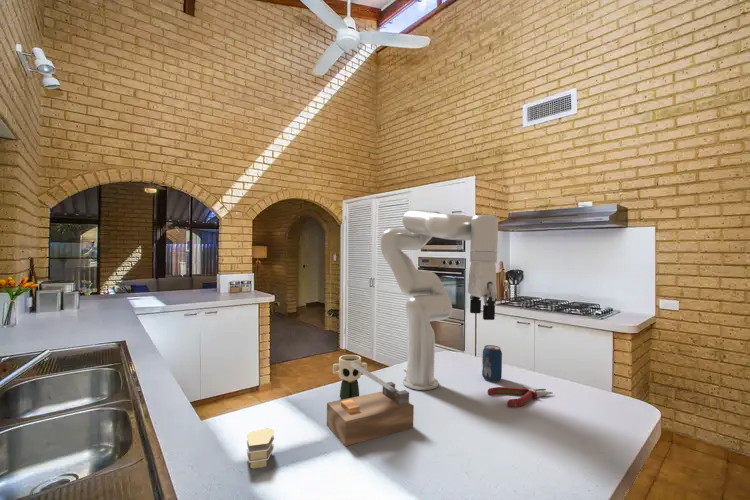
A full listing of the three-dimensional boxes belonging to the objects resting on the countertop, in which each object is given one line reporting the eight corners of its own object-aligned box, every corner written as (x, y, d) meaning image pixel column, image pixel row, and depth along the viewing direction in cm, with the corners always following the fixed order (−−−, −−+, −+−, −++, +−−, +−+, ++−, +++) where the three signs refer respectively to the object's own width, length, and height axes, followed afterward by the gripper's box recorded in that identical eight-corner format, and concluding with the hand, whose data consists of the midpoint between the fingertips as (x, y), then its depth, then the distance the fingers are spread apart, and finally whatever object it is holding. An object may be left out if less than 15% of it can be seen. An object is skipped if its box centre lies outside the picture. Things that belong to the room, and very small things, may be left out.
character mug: (332, 404, 111) (333, 361, 111) (331, 394, 118) (332, 355, 118) (368, 402, 113) (368, 360, 113) (364, 393, 120) (365, 354, 120)
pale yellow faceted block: (281, 470, 78) (282, 445, 78) (237, 477, 75) (237, 451, 75) (279, 446, 87) (280, 423, 87) (240, 451, 85) (240, 428, 85)
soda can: (500, 377, 138) (501, 345, 138) (502, 383, 132) (503, 350, 132) (481, 375, 140) (482, 344, 140) (482, 381, 133) (483, 348, 133)
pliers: (563, 401, 117) (563, 393, 117) (510, 410, 110) (510, 401, 110) (535, 388, 129) (535, 380, 129) (485, 395, 122) (485, 387, 122)
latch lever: (348, 364, 97) (351, 360, 97) (391, 391, 104) (393, 387, 104) (356, 369, 93) (359, 365, 93) (400, 397, 100) (402, 393, 100)
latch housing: (326, 424, 98) (327, 391, 98) (389, 410, 108) (390, 379, 108) (345, 446, 87) (346, 408, 87) (413, 427, 97) (413, 394, 97)
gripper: (460, 256, 114) (459, 310, 114) (482, 258, 97) (481, 322, 97) (483, 256, 115) (482, 311, 115) (509, 259, 97) (507, 322, 98)
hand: (481, 316), depth 106 cm, fingers open, 9 cm apart
